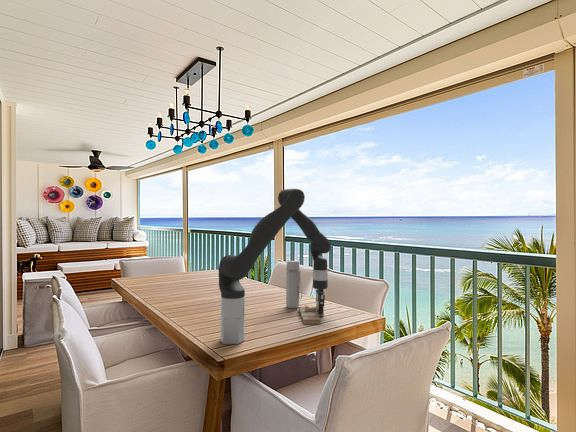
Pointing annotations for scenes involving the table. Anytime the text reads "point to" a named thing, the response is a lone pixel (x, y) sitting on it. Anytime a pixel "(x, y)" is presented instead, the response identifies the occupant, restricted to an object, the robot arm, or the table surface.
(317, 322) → the plank
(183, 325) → the table surface
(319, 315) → the gauge
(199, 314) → the table surface
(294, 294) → the water bottle
